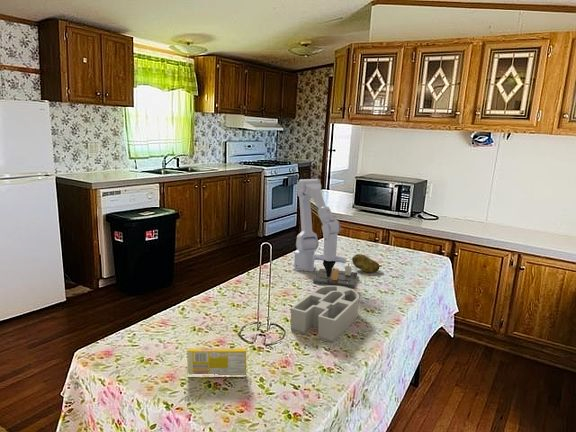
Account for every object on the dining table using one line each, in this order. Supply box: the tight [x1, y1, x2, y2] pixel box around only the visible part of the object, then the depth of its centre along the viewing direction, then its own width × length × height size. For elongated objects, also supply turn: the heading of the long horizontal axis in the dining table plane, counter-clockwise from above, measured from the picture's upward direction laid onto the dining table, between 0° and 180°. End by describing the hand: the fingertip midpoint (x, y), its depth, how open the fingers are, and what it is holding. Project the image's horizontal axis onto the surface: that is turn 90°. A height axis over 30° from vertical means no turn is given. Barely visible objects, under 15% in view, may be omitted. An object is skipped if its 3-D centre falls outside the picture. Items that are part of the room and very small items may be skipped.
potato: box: [351, 253, 380, 273], centre depth 202 cm, size 8×13×8 cm, turn 61°
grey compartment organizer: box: [289, 285, 360, 344], centre depth 149 cm, size 17×28×9 cm, turn 149°
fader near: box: [332, 267, 340, 280], centre depth 186 cm, size 2×4×5 cm, turn 165°
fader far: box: [344, 262, 353, 276], centre depth 192 cm, size 2×4×5 cm, turn 165°
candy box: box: [186, 347, 247, 376], centre depth 115 cm, size 16×2×8 cm, turn 92°
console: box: [312, 268, 358, 289], centre depth 191 cm, size 18×16×2 cm
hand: (328, 276), depth 187 cm, fingers closed
